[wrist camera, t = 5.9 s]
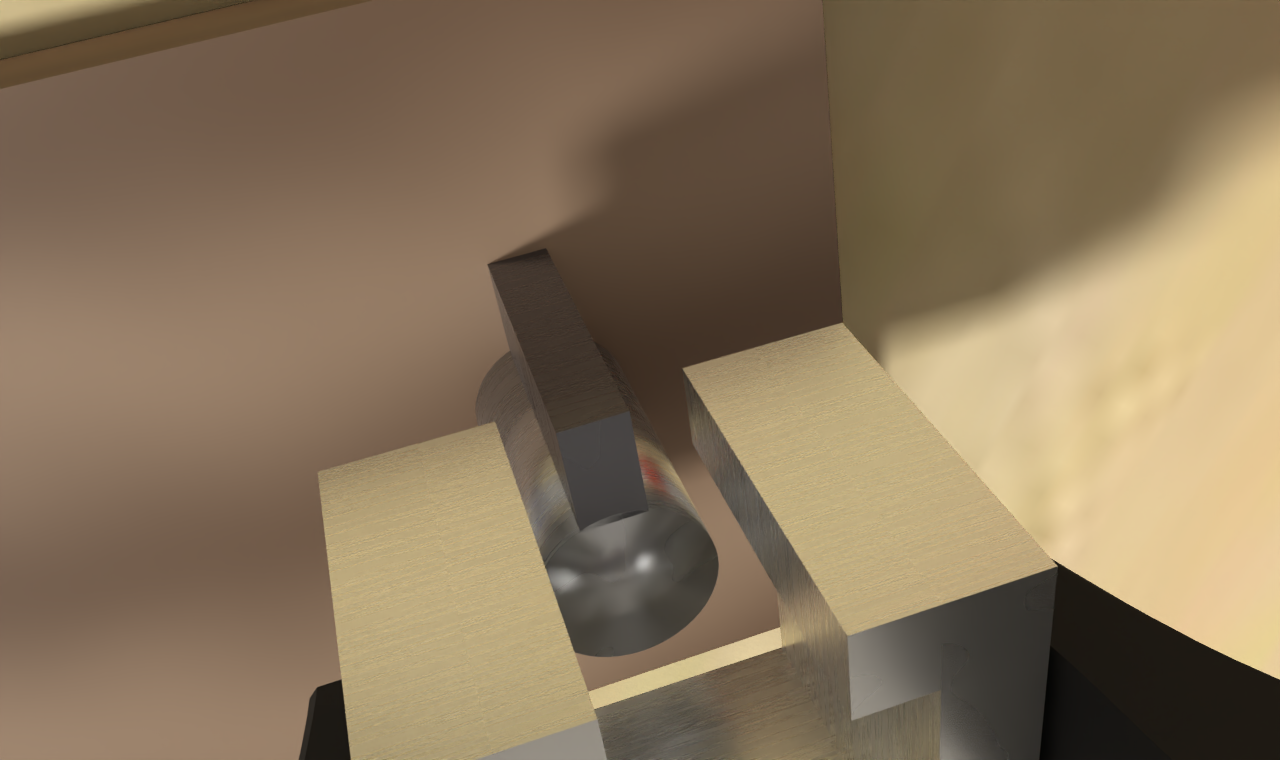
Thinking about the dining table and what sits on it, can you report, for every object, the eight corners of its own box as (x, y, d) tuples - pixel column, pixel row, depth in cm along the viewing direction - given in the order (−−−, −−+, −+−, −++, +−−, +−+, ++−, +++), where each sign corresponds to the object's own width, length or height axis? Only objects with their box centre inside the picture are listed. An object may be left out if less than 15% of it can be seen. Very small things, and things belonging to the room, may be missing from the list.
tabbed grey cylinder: (435, 278, 15) (490, 453, 12) (596, 234, 16) (692, 392, 12) (494, 482, 17) (555, 679, 14) (637, 440, 18) (728, 621, 14)
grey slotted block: (446, 814, 15) (509, 1146, 12) (318, 471, 12) (355, 799, 8) (857, 675, 16) (1020, 947, 13) (842, 322, 13) (1057, 565, 9)
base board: (-1154, 329, 12) (-1274, 392, 11) (778, -123, 15) (815, -105, 14) (-388, 959, 19) (-422, 1032, 18) (832, 556, 22) (860, 599, 21)
